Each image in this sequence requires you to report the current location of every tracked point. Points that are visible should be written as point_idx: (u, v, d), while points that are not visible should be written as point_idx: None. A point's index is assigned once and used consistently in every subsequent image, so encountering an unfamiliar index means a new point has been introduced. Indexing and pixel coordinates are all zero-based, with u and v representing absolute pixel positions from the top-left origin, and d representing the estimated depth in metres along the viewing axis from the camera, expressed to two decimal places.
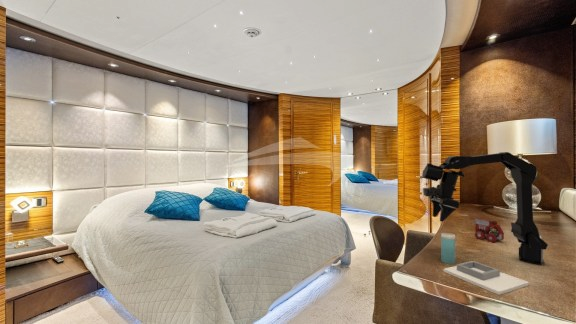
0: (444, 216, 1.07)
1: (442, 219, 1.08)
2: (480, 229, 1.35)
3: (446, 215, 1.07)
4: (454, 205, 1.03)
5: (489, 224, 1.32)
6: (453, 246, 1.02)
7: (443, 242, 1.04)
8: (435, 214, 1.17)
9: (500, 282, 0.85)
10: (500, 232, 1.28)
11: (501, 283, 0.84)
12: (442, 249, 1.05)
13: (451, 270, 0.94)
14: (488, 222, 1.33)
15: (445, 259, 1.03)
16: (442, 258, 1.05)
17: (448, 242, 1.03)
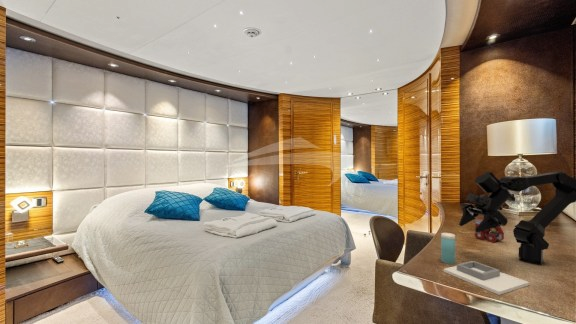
0: (482, 228, 0.99)
1: (478, 230, 1.00)
2: None
3: (485, 228, 0.99)
4: (503, 221, 0.95)
5: None
6: (453, 246, 1.02)
7: (443, 242, 1.04)
8: (462, 224, 1.09)
9: (500, 282, 0.85)
10: (500, 232, 1.28)
11: (501, 283, 0.84)
12: (442, 249, 1.05)
13: (451, 270, 0.94)
14: None
15: (445, 259, 1.03)
16: (442, 258, 1.05)
17: (448, 242, 1.03)
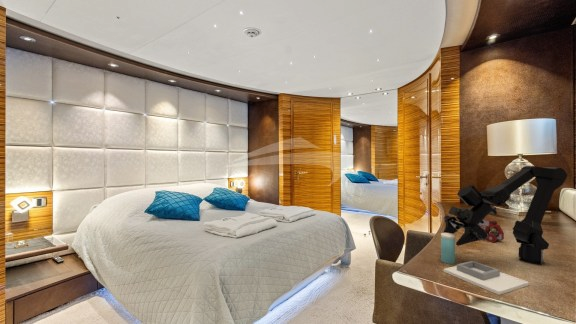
0: (462, 242, 0.99)
1: (459, 243, 1.00)
2: None
3: (465, 241, 0.99)
4: (483, 235, 0.95)
5: (489, 224, 1.32)
6: (453, 246, 1.02)
7: (443, 242, 1.04)
8: None
9: (500, 282, 0.85)
10: (500, 232, 1.28)
11: (501, 283, 0.84)
12: (442, 249, 1.05)
13: (451, 270, 0.94)
14: (488, 222, 1.33)
15: (445, 259, 1.03)
16: (442, 258, 1.05)
17: (447, 242, 1.03)
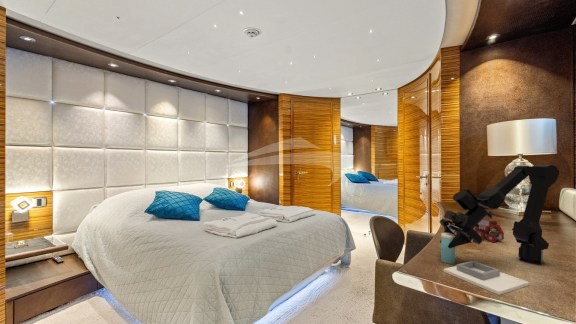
0: (454, 244, 1.01)
1: (451, 246, 1.02)
2: (480, 229, 1.35)
3: (457, 244, 1.01)
4: (478, 240, 0.95)
5: (489, 224, 1.32)
6: None
7: (443, 242, 1.04)
8: None
9: (500, 282, 0.85)
10: (500, 232, 1.28)
11: (501, 283, 0.84)
12: (442, 249, 1.05)
13: (451, 270, 0.94)
14: (488, 222, 1.33)
15: (445, 259, 1.03)
16: (442, 258, 1.05)
17: (448, 242, 1.03)
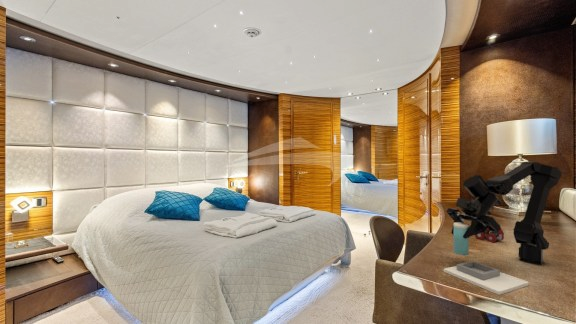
0: (469, 234, 0.95)
1: (466, 236, 0.95)
2: None
3: (472, 233, 0.95)
4: (496, 228, 0.90)
5: None
6: None
7: (457, 232, 0.97)
8: None
9: (500, 282, 0.85)
10: (500, 232, 1.28)
11: (501, 283, 0.84)
12: (456, 240, 0.97)
13: (451, 270, 0.94)
14: None
15: (459, 250, 0.96)
16: (455, 249, 0.97)
17: (462, 232, 0.96)
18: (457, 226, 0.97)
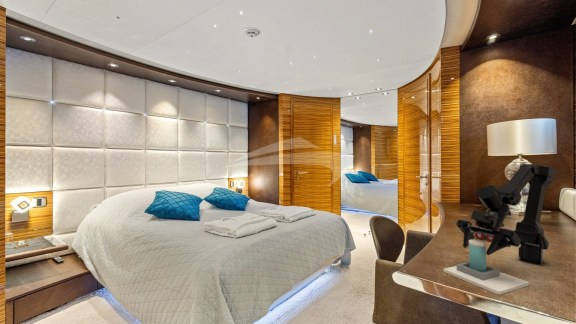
0: (492, 250, 0.88)
1: (489, 252, 0.88)
2: None
3: (495, 249, 0.88)
4: (518, 242, 0.85)
5: None
6: (485, 254, 0.90)
7: (475, 251, 0.91)
8: (466, 245, 0.95)
9: (500, 282, 0.85)
10: None
11: (501, 283, 0.84)
12: (473, 259, 0.91)
13: (451, 270, 0.94)
14: None
15: (478, 270, 0.90)
16: (473, 269, 0.91)
17: (480, 250, 0.90)
18: (474, 244, 0.91)
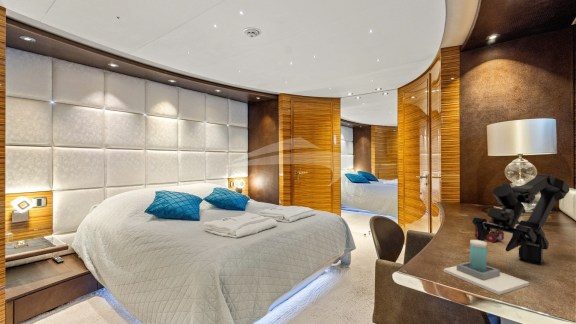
0: (511, 247, 0.91)
1: (509, 249, 0.91)
2: None
3: (514, 246, 0.91)
4: (534, 238, 0.89)
5: None
6: (486, 255, 0.90)
7: (476, 251, 0.90)
8: None
9: (500, 282, 0.85)
10: (500, 232, 1.28)
11: (501, 283, 0.84)
12: (474, 259, 0.91)
13: (451, 270, 0.94)
14: (488, 222, 1.33)
15: (478, 271, 0.90)
16: None
17: (482, 251, 0.89)
18: (476, 245, 0.90)
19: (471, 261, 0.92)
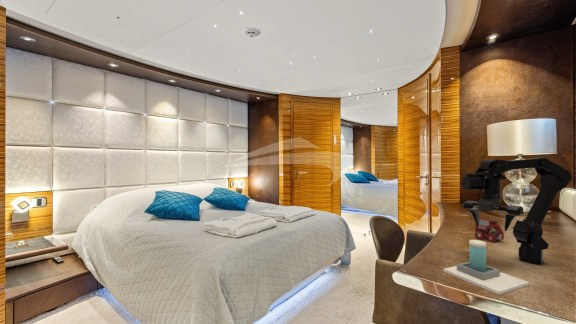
0: (508, 225, 1.02)
1: (507, 228, 1.02)
2: (480, 229, 1.35)
3: (509, 223, 1.02)
4: (522, 212, 0.99)
5: (489, 224, 1.32)
6: (485, 255, 0.90)
7: (475, 252, 0.90)
8: (478, 223, 1.09)
9: (500, 282, 0.85)
10: (500, 232, 1.28)
11: (501, 283, 0.84)
12: (474, 260, 0.91)
13: (451, 270, 0.94)
14: (488, 222, 1.33)
15: (478, 271, 0.90)
16: None
17: (481, 251, 0.89)
18: (475, 245, 0.90)
19: (471, 261, 0.92)
